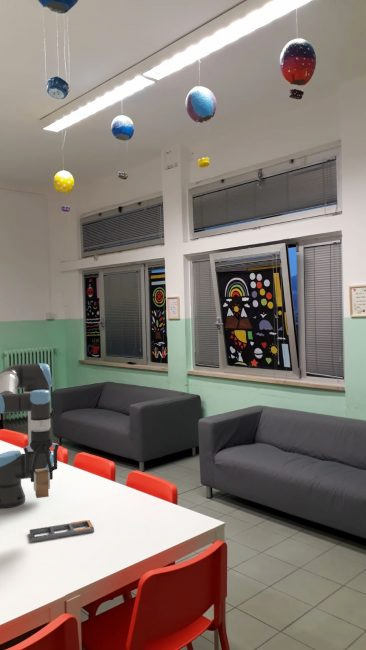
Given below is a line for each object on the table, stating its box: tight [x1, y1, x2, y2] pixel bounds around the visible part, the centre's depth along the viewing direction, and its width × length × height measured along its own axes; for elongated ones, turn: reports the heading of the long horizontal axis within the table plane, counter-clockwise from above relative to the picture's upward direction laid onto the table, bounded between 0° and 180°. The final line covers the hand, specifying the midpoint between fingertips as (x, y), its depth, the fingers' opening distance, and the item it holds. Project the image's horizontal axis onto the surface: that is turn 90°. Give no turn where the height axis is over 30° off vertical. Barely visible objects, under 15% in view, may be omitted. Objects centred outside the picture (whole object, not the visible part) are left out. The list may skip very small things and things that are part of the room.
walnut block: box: [34, 468, 50, 499], centre depth 199 cm, size 4×4×10 cm
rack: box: [29, 519, 95, 543], centre depth 202 cm, size 9×24×2 cm, turn 112°
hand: (41, 488), depth 199 cm, fingers closed on walnut block, 4 cm apart
